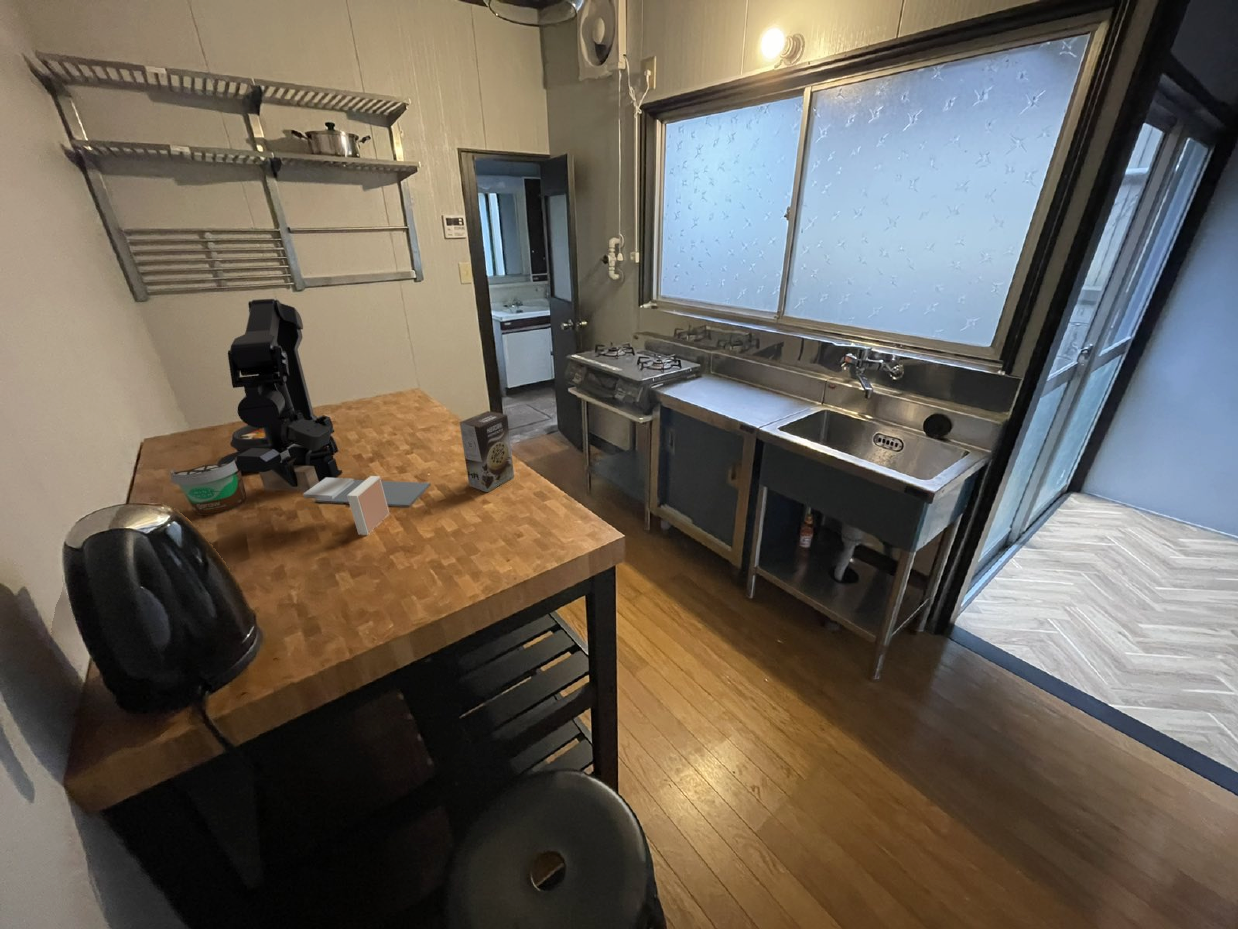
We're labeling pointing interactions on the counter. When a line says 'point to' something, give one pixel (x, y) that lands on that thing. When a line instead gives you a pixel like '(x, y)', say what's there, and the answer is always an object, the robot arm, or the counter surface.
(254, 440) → the casserole
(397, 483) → the rest mat
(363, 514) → the glazed tile
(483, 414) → the coffee box
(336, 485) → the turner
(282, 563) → the counter surface
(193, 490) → the food container
